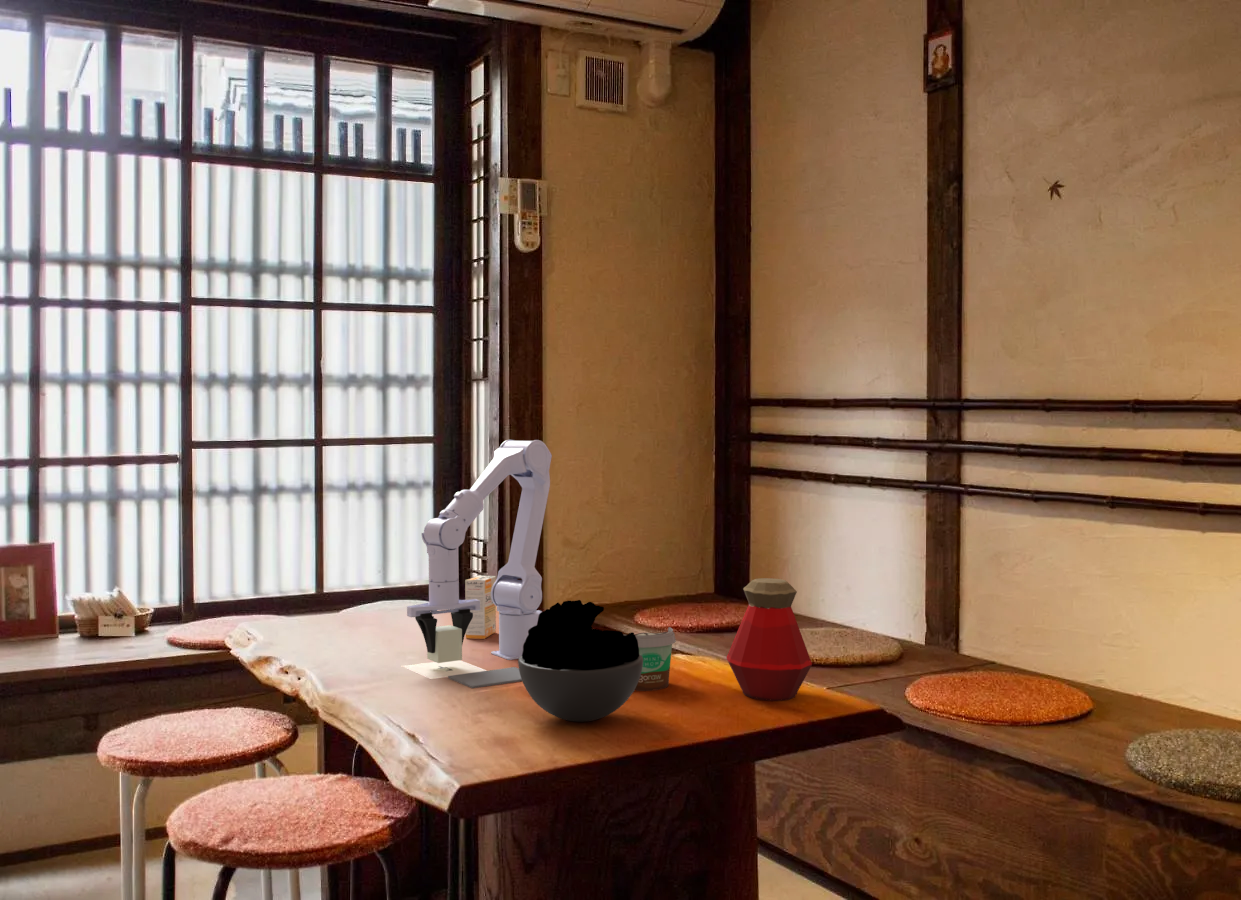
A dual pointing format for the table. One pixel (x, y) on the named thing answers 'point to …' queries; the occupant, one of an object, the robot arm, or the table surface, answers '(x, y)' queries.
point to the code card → (443, 669)
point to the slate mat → (488, 677)
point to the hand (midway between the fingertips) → (444, 650)
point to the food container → (655, 659)
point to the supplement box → (481, 607)
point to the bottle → (769, 643)
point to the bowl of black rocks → (578, 663)
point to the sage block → (447, 644)
